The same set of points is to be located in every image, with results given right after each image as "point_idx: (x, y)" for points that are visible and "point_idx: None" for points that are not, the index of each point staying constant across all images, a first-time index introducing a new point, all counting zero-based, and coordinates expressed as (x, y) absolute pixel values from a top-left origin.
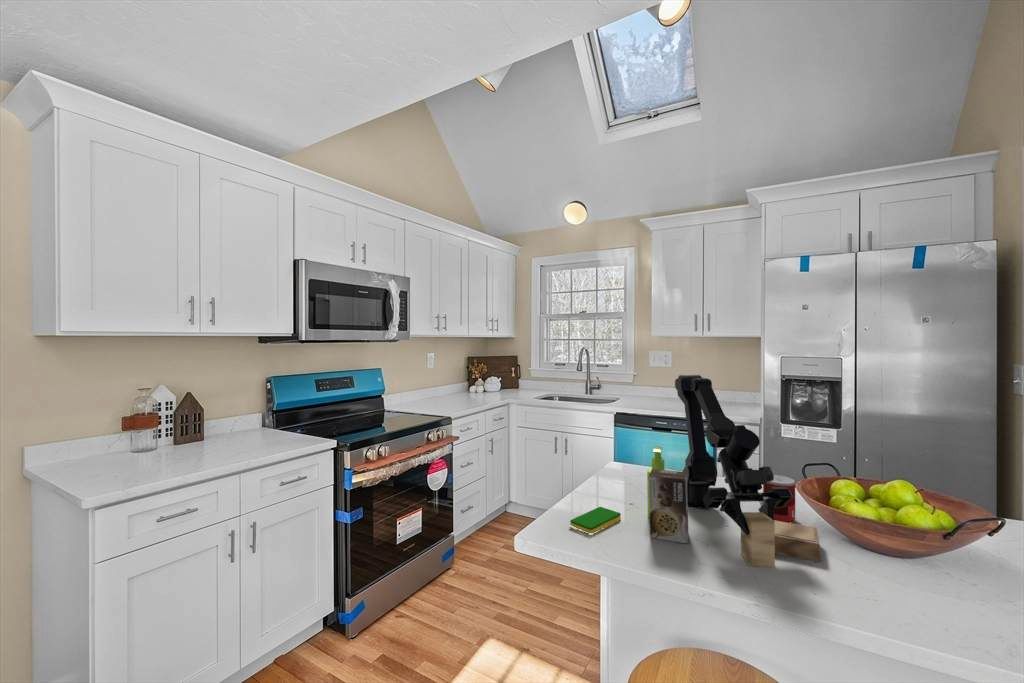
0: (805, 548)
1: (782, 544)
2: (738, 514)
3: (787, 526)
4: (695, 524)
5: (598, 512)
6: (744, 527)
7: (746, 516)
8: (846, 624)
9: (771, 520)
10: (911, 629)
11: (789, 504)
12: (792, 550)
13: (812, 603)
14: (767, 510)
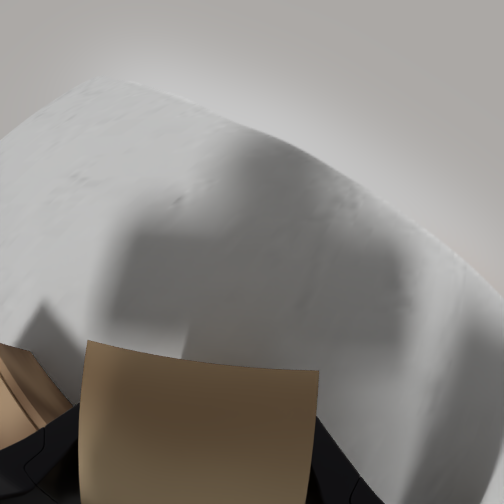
0: (28, 377)
1: None
2: (372, 498)
3: None
4: None
5: None
6: (322, 428)
7: (296, 488)
8: (209, 115)
9: (100, 361)
10: (115, 111)
11: None
12: (63, 408)
13: (220, 167)
14: (42, 482)
